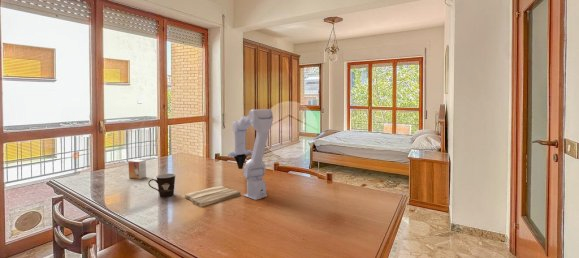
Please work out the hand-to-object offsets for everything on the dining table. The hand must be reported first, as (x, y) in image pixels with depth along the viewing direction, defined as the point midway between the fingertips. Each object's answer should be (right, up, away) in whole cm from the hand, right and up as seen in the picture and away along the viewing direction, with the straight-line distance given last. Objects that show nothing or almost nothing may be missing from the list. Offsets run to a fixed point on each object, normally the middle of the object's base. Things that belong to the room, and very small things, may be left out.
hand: (240, 168), depth 157 cm
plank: (-15, -11, -11) cm, 22 cm away
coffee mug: (-36, -12, -12) cm, 40 cm away
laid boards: (-8, -12, -17) cm, 23 cm away
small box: (-67, -9, +22) cm, 71 cm away
